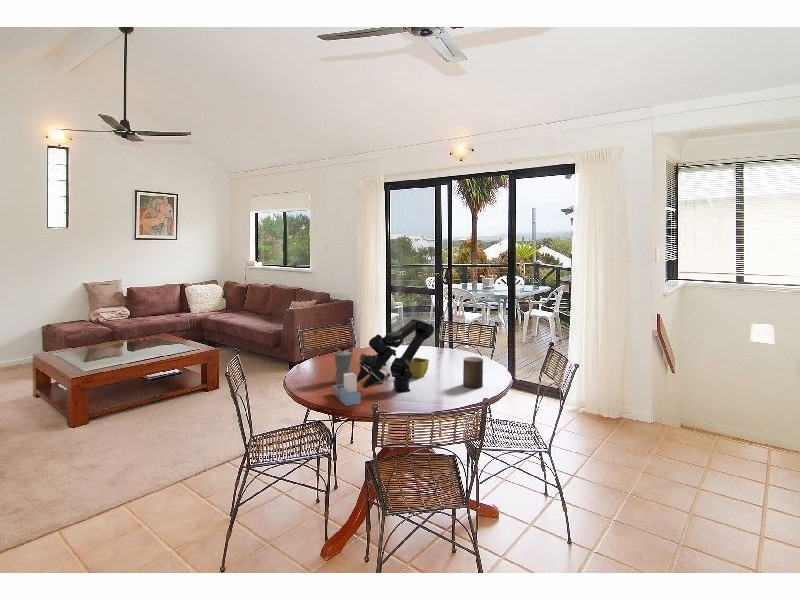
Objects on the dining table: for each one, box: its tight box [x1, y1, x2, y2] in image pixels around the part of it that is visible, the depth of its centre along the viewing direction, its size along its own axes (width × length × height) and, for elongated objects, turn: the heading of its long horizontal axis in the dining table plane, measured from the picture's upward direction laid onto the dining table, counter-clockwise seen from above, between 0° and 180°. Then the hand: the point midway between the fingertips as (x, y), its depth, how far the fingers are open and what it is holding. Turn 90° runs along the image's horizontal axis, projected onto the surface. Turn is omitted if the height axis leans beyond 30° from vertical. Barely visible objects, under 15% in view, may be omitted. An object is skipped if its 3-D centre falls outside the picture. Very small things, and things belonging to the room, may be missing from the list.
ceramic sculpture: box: [371, 366, 392, 384], centre depth 252 cm, size 11×9×15 cm
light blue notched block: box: [339, 388, 361, 407], centre depth 219 cm, size 7×9×6 cm
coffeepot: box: [333, 347, 353, 385], centre depth 249 cm, size 15×9×18 cm, turn 159°
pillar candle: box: [462, 356, 484, 389], centre depth 242 cm, size 10×10×15 cm
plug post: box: [344, 372, 358, 394], centre depth 219 cm, size 4×4×12 cm
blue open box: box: [331, 384, 344, 401], centre depth 227 cm, size 7×11×4 cm, turn 26°
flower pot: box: [409, 357, 430, 379], centre depth 258 cm, size 9×9×9 cm
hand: (359, 384), depth 221 cm, fingers open, 9 cm apart
